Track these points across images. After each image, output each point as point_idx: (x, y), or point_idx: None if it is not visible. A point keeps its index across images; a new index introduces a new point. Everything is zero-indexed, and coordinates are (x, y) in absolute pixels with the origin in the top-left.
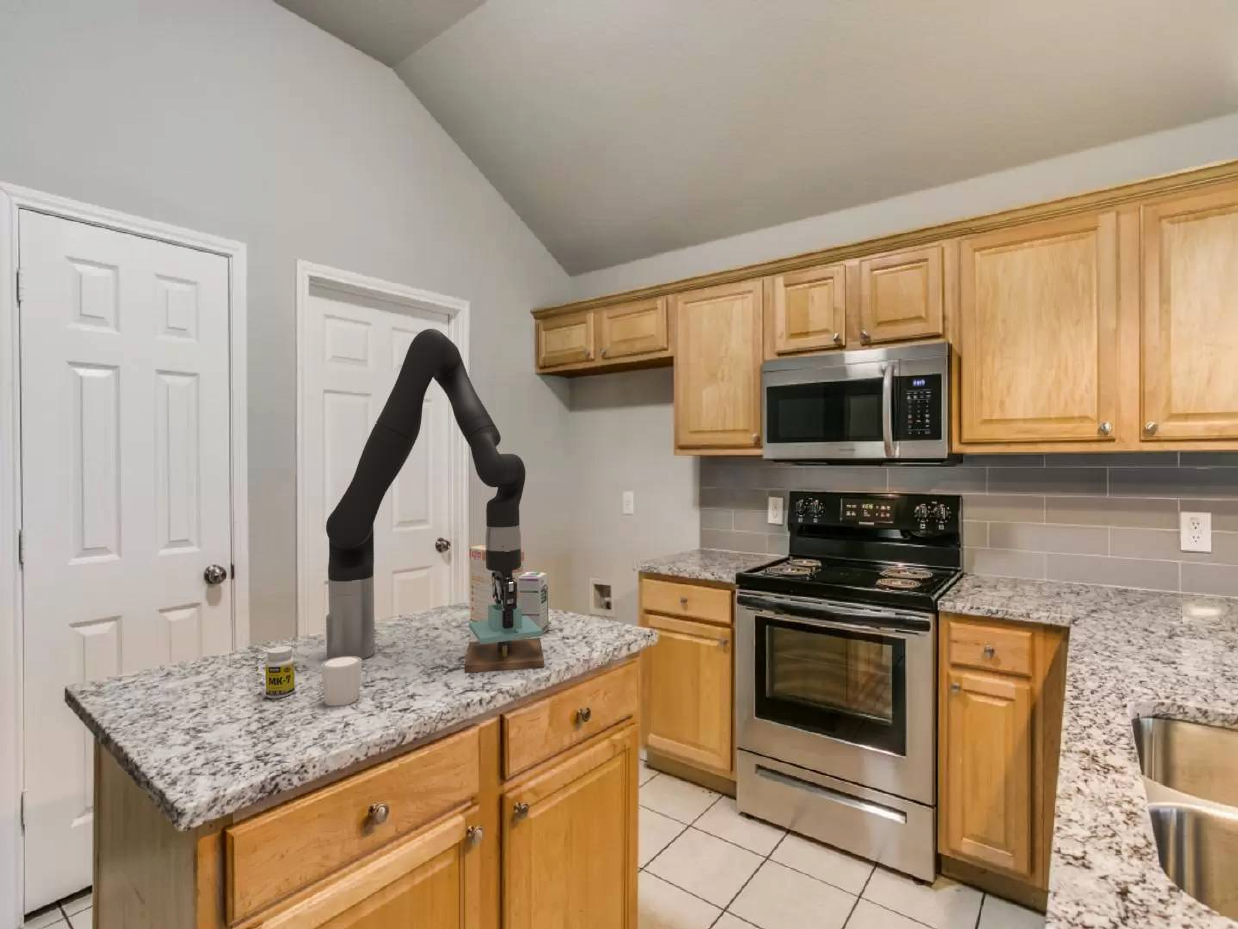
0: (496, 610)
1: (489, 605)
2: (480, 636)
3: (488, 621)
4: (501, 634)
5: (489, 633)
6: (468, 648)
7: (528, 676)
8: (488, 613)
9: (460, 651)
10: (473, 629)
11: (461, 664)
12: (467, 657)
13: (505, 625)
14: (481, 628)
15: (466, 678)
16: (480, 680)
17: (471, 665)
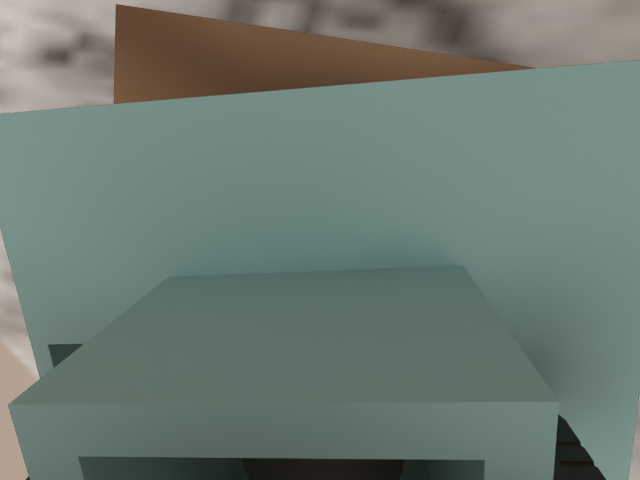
0: (63, 456)
1: (496, 421)
2: (34, 123)
3: (455, 279)
4: (64, 323)
5: (121, 226)
6: (491, 67)
7: (28, 334)
8: (470, 324)
9: (603, 21)
10: (374, 83)
11: (309, 7)
12: (278, 39)
13: None
14: (331, 172)
15: (50, 20)
16: (8, 98)
17: (117, 54)
